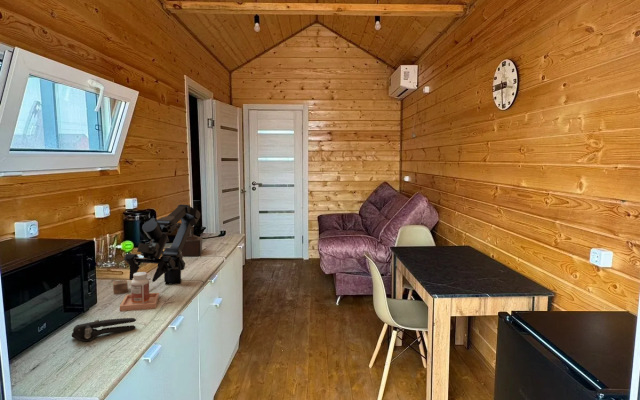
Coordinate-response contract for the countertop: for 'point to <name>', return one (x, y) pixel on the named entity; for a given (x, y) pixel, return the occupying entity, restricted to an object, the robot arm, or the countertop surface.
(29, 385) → the countertop surface
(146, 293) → the pill bottle
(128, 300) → the tray
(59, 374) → the countertop surface
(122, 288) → the walnut block
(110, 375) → the countertop surface
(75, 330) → the can opener
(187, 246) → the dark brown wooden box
